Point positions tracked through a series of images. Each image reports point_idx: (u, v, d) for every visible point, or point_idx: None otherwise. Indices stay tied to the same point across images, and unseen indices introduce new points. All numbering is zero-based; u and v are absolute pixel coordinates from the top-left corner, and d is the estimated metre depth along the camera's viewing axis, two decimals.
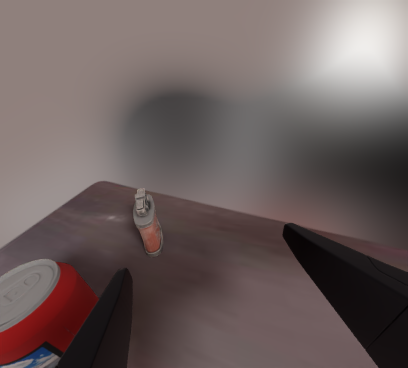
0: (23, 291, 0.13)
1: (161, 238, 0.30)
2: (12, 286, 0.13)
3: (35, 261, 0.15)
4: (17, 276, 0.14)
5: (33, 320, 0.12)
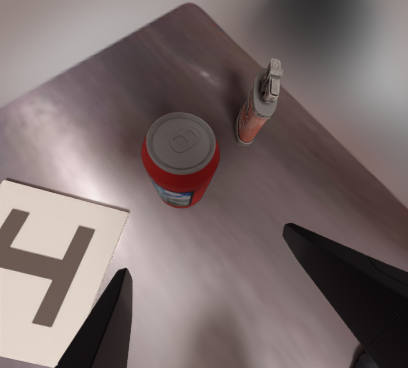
0: (187, 144, 0.13)
1: None
2: (175, 133, 0.13)
3: (190, 114, 0.14)
4: (176, 124, 0.13)
5: (198, 176, 0.13)
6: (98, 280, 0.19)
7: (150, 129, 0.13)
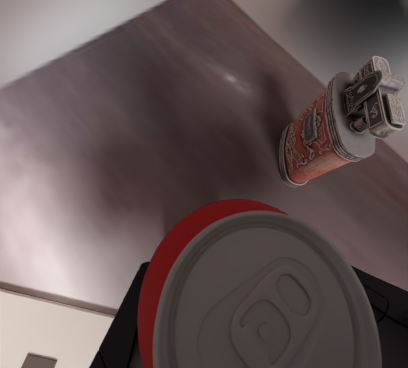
0: (288, 332, 0.04)
1: None
2: (247, 290, 0.04)
3: (283, 217, 0.05)
4: (245, 250, 0.04)
5: None
6: None
7: (167, 291, 0.04)
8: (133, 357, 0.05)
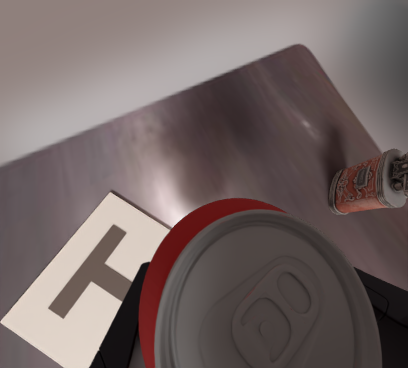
0: (289, 330, 0.04)
1: None
2: (248, 288, 0.04)
3: (283, 216, 0.05)
4: (246, 249, 0.04)
5: None
6: None
7: (168, 289, 0.04)
8: (133, 357, 0.05)
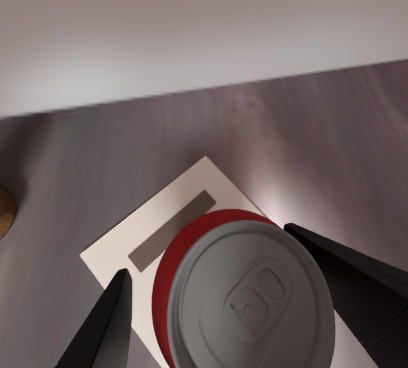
0: (267, 312, 0.05)
1: None
2: (236, 281, 0.05)
3: (265, 225, 0.06)
4: (236, 251, 0.06)
5: None
6: None
7: (177, 280, 0.05)
8: None
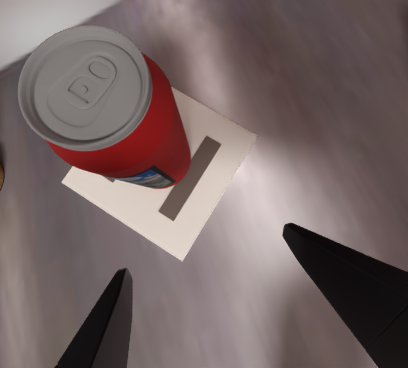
0: (98, 88, 0.07)
1: None
2: (72, 75, 0.07)
3: (86, 27, 0.07)
4: (69, 55, 0.07)
5: (139, 141, 0.07)
6: (218, 195, 0.18)
7: (21, 81, 0.07)
8: None
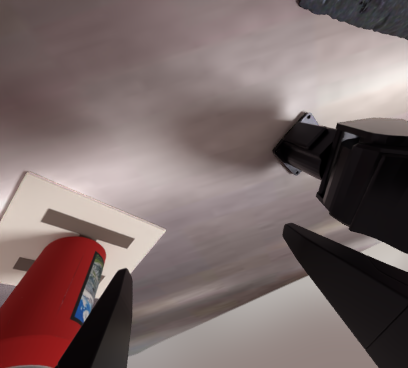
0: None
1: None
2: None
3: None
4: None
5: (47, 354, 0.12)
6: (108, 209, 0.20)
7: None
8: None
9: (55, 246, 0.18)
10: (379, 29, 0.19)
